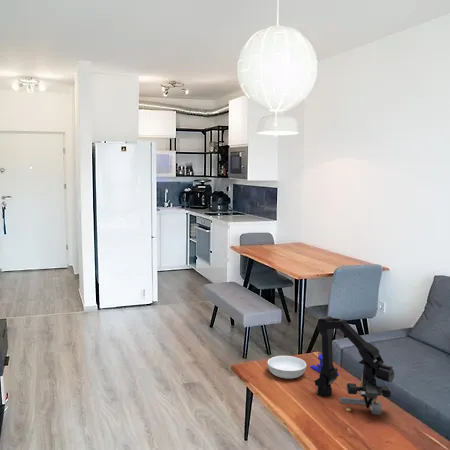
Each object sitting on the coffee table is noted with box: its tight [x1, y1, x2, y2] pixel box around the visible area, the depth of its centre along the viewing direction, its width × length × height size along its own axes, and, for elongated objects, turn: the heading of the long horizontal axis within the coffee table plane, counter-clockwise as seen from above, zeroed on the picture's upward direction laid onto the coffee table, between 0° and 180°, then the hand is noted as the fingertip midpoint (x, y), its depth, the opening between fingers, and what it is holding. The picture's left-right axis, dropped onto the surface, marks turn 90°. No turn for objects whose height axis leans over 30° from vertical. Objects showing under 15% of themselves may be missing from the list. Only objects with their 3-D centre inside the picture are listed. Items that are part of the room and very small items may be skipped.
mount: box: [309, 353, 340, 377], centre depth 256 cm, size 15×8×9 cm, turn 30°
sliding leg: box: [369, 398, 383, 416], centre depth 213 cm, size 4×8×5 cm, turn 173°
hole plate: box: [339, 396, 371, 412], centre depth 212 cm, size 18×13×3 cm
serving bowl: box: [267, 355, 307, 380], centre depth 251 cm, size 21×21×7 cm
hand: (367, 407), depth 211 cm, fingers closed
